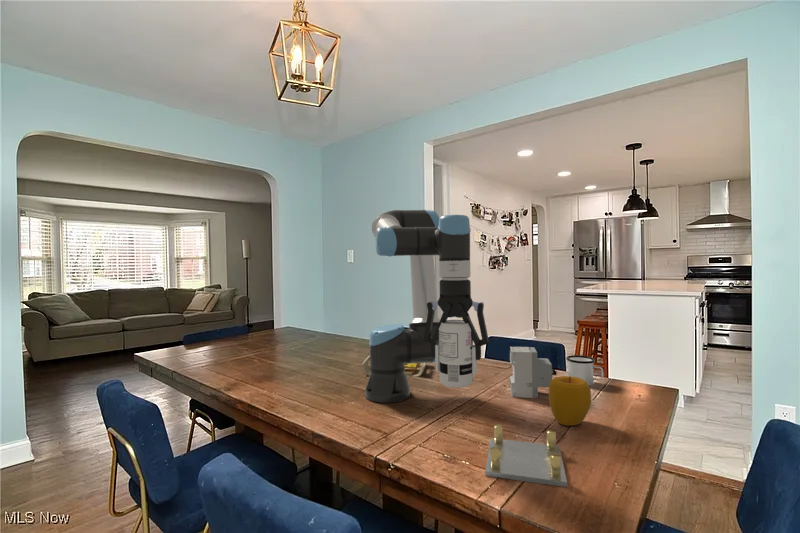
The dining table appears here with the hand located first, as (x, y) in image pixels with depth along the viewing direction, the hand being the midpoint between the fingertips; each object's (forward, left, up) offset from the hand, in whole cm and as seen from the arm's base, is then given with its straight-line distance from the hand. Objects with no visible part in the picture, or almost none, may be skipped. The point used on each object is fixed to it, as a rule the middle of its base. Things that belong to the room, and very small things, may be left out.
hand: (456, 371), depth 97 cm
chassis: (+16, -4, -18) cm, 24 cm away
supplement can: (0, 0, -3) cm, 3 cm away
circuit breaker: (+19, +43, -18) cm, 50 cm away
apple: (+28, +21, -18) cm, 39 cm away
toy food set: (-34, +60, -19) cm, 72 cm away
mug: (+37, +59, -18) cm, 72 cm away
